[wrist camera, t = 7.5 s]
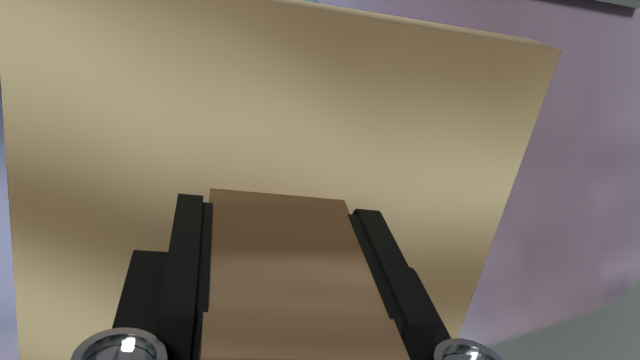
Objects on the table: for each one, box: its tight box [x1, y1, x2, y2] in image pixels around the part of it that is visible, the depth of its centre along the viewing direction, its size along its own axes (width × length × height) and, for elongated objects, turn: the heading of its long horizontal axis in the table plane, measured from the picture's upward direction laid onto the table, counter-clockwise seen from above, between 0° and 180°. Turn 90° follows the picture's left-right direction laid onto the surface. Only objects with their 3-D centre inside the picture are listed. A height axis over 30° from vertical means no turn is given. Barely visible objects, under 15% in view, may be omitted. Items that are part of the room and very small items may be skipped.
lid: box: [0, 0, 561, 360], centre depth 11 cm, size 11×11×6 cm
